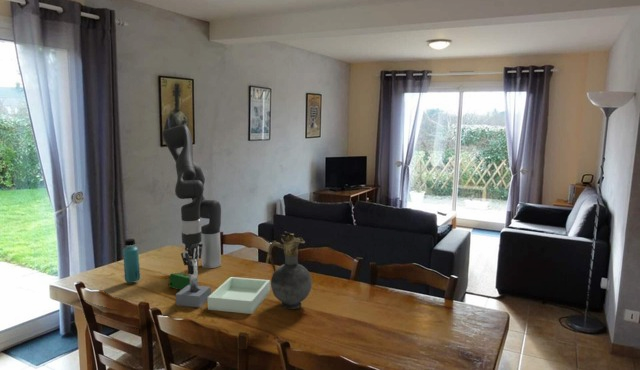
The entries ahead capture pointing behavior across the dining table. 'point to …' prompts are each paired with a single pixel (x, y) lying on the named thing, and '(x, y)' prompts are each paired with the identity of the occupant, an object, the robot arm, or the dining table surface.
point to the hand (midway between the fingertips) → (193, 272)
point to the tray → (239, 295)
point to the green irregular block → (179, 280)
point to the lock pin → (194, 277)
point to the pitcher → (290, 274)
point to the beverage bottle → (131, 261)
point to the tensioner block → (193, 296)
